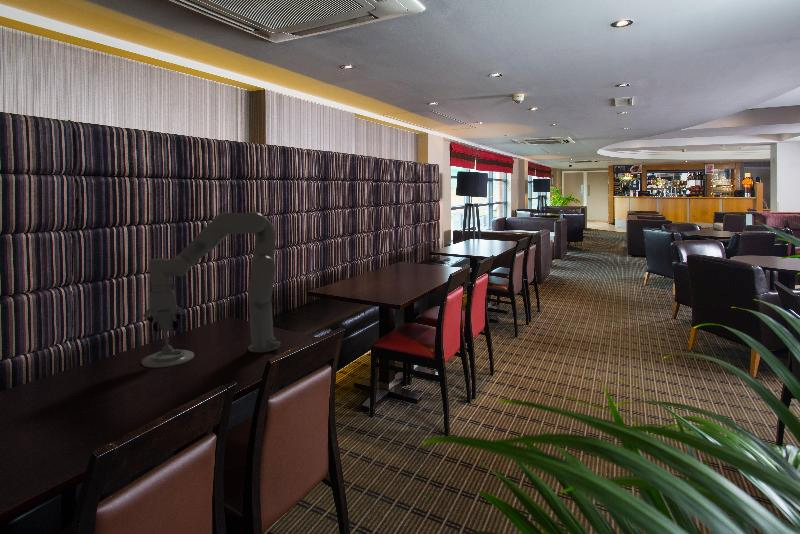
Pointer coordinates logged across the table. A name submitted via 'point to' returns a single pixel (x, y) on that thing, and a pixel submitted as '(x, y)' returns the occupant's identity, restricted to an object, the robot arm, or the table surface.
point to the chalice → (165, 328)
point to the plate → (158, 365)
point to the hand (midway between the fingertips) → (165, 330)
